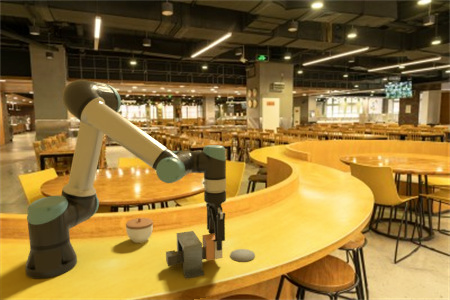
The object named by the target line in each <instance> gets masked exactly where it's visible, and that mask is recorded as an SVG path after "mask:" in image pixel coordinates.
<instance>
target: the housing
mask: <svg viewBox="0 0 450 300" xmlns="http://www.w3.org/2000/svg"><path fill="white" fill-rule="evenodd" d="M202 247H203V242H201V240H200V239H199V237H198V235H196V233H195V232H194V230H190V231H184V232H176V251H181V250H183V263H182V273H183V276H184V278H185V279H186V280H188V279H191V278H192V279H193V278H196V277H201V276H205V271H204V270H203V260H202Z"/></svg>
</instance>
